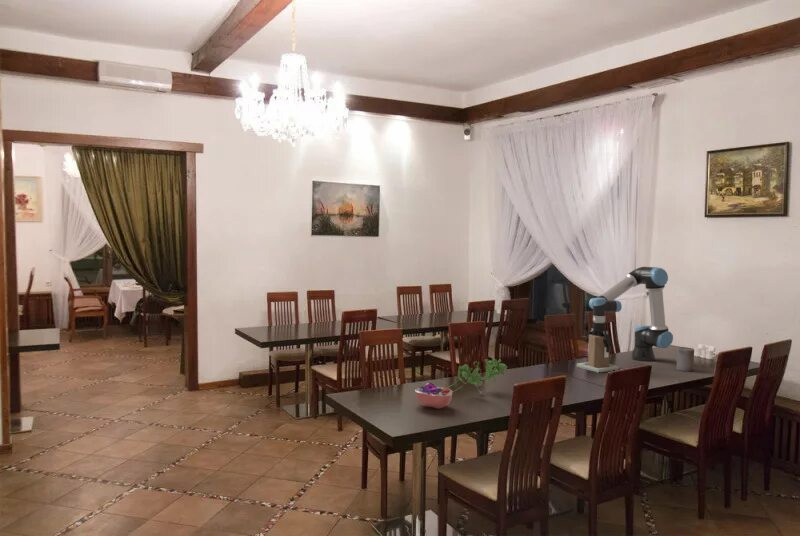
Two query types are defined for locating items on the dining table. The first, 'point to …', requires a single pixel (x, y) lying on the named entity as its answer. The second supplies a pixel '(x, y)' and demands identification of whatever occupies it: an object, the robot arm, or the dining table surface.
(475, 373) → the plant cuttings
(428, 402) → the cell model
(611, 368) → the square tray
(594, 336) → the wooden block
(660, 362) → the dining table surface
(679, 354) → the pillar candle
